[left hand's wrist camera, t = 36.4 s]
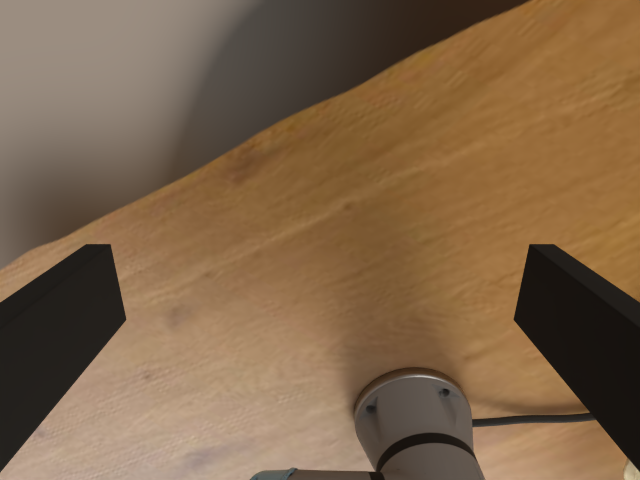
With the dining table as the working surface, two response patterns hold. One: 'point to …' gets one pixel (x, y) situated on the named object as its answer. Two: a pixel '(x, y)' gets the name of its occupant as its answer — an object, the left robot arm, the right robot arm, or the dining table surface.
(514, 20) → the dining table surface
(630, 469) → the bowl
